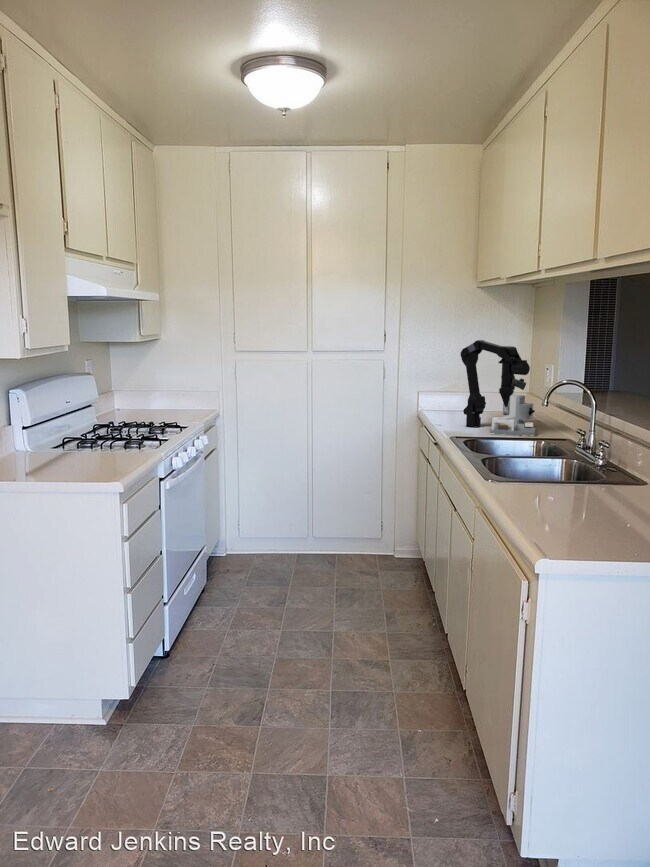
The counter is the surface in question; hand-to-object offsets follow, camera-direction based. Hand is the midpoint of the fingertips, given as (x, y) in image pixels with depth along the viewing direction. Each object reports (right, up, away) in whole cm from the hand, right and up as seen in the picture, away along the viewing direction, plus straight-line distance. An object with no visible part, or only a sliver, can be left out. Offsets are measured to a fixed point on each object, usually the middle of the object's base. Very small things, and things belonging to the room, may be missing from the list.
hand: (506, 406), depth 308 cm
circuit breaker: (+12, -9, +21) cm, 26 cm away
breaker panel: (+3, -13, +1) cm, 13 cm away
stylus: (0, -4, +1) cm, 4 cm away
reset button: (-1, -10, +2) cm, 10 cm away
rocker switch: (+10, -9, -2) cm, 14 cm away
